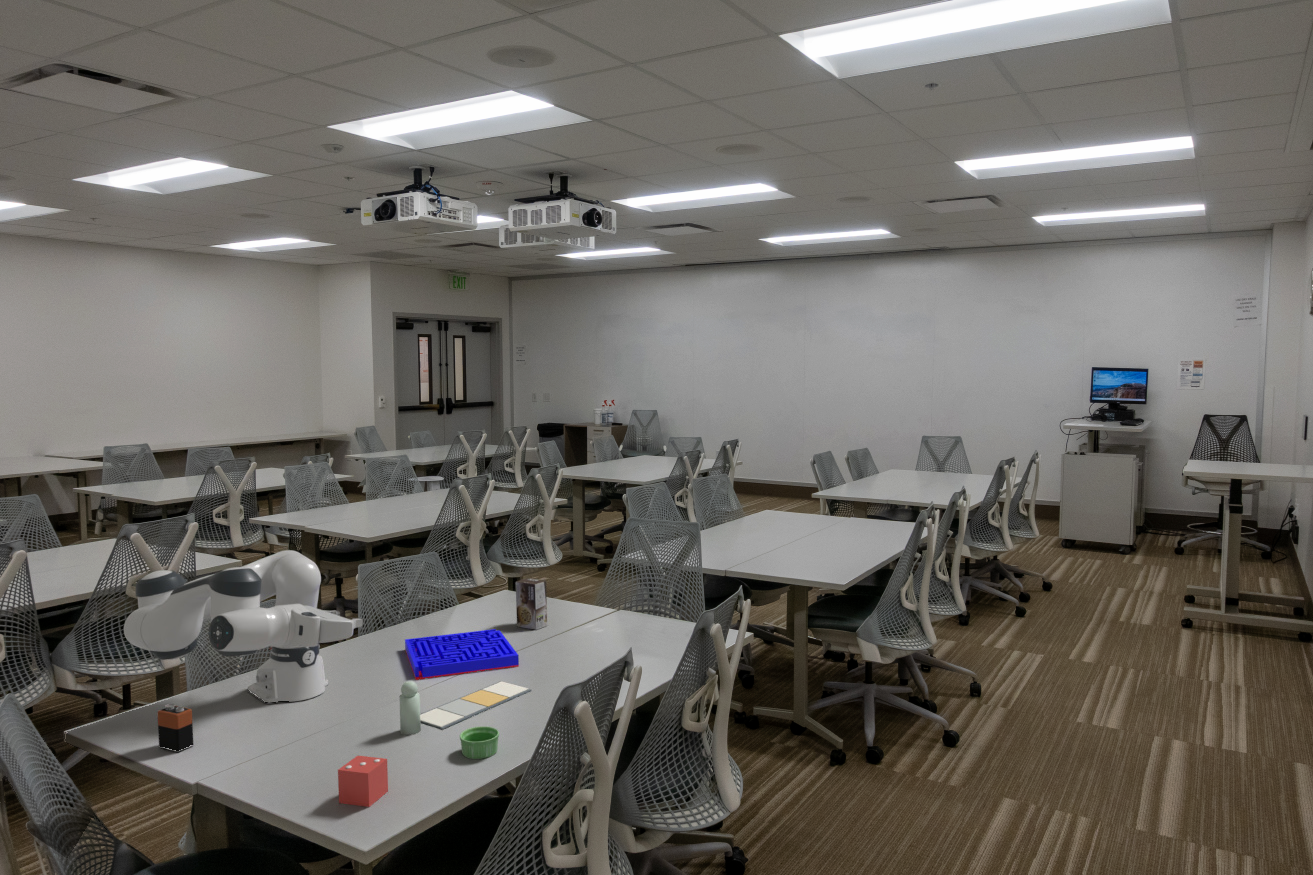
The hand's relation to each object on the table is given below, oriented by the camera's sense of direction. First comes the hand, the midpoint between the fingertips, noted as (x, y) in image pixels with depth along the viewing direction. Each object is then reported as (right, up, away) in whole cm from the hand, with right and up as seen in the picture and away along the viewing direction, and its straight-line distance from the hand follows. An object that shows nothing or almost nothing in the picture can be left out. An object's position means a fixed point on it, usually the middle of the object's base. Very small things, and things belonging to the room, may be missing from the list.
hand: (349, 618), depth 201 cm
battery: (-43, -32, +6) cm, 54 cm away
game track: (+22, -29, +32) cm, 49 cm away
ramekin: (+29, -32, +3) cm, 43 cm away
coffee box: (+27, -25, +105) cm, 111 cm away
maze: (+10, -28, +71) cm, 76 cm away
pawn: (+10, -31, +15) cm, 36 cm away
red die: (+10, -33, -19) cm, 39 cm away
